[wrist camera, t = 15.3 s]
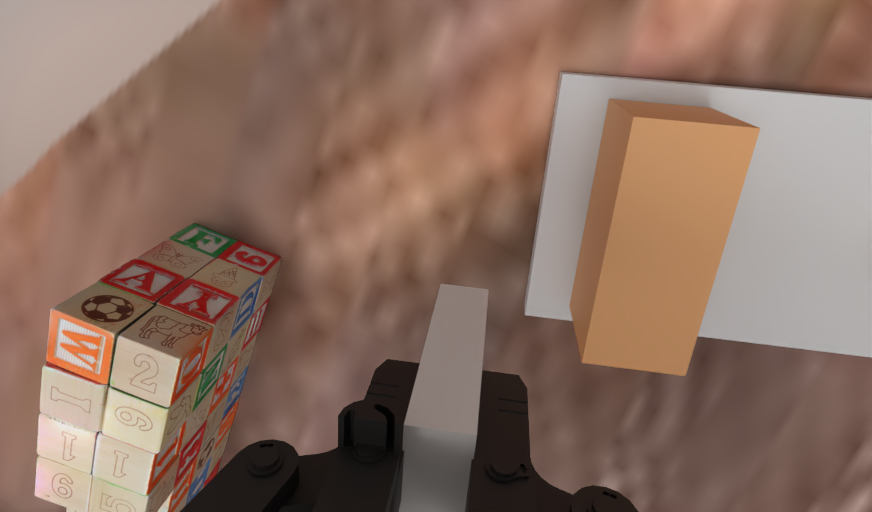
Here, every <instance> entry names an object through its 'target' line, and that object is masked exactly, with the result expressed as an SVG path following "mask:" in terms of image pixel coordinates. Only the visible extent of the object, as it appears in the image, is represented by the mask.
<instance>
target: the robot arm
mask: <svg viewBox="0 0 872 512" xmlns="http://www.w3.org/2000/svg"><path fill="white" fill-rule="evenodd" d="M488 291H489V289H482V288H473V287H465V286H457V285H448V284H441V285H440V289H439V292H438V296H437V300H436V304H435V308H434V311H433V315H432V319H431V323H430V327H429V330H428V334H427V338H426V342H425V346H424V350H423V353H422V357H421V361H420V363H413V362H405V361H398V360H390V359H387V360H386V361H385V362H384V363H382V364H381V365H380V366H379V367H378V368H377V369H376V370H375V372H374V375H373V377H372V380H371V384H370V385H369V388H368V391H367V394H366V396H365V398H364V400H361V401H357V402H353V403H351V404H350V405H348V406H346V407H345V408H344V409H343V410H342V411H341V413H340V414H339V415H338V447H337V448H335V449H333V450H331V451H328V452H325V453H320V454H314V455H304V456H298V453H297V452H296V450H295V449H294V447H293V446H291V445H290V444H288V443H286V442H284V441H278V440H264V441H259V442H256V443H253V444H251V445H248V446H247V447H246V448H244V449H243V450H241V451H240V452H239V453H238V454H237V455H236V456H235V457H234V458H233V459H232V460H231V461H230V462H229V463H228V464H227V465H226V466H225V467H224V468H223V469H222V470H221V471H220V472H219V473H218V474H217V475H216V476H215V477H214V478H213V479H212V480H211V481H210V482H209V483H208V484H207V485H206V486H205V487H204V488H203V489H202V490H201V491H200V492H199V493H198V494H197V495H196V496H195V497H194V498H193V499H192V500H191V501H190V502H189V503H188V504H187V505H186V506H185V507H184V508H183V509H182V510H181V511H180V512H638V511H637V509H636V508H635V507H634V505H633V504H632V503H631V502H630V500H628V499H627V498H626V497H624V496H623V495H622V494H620V493H619V492H617V491H614V490H612V489H609V488H607V487H601V486H589V487H584V488H581V489H580V490H579V491H577V492H576V493H575V494H574V495H572V494H570V493H567V492H565V491H563V490H560V489H558V488H556V487H554V486H552V485H550V484H549V483H547V482H546V481H545V480H544V479H542V478H541V477H540V476H539V475H538V473H537V472H536V471H535V469H534V467H533V465H532V463H531V458H530V442H529V420H528V405H527V404H528V398H527V387H526V386H525V384H524V383H523V381H522V380H521V378H520V377H519V375H513V374H506V373H498V372H490V371H483V370H482V365H483V353H484V340H485V328H486V315H487V303H488Z"/></svg>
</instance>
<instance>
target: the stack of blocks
mask: <svg viewBox="0 0 872 512" xmlns="http://www.w3.org/2000/svg"><path fill="white" fill-rule="evenodd" d="M280 263H281V258H280V257H278V256H276V255H273V254H271V253H268V252H266V251H263V250H261V249H258V248H256V247H253V246H251V245H248V244H246V243H243V242H241V241H236V240H234V239H231V238H229V237H226V236H224V235H222V234H219V233H217V232H214V231H212V230H209V229H207V228H204V227H202V226H200V225H197V224H194V223H193V224H192V225H190V226H188V227H186V228H185V229H183V230H181V231H179V232H177V233H176V234H174V235H173V236H171V237H169V238H168V239H167V241H165V242H163V243H161V244H160V245H158V246H156V247H154V248H153V249H151V250H149V251H147V252H146V253H144V254H143V255H141V256H140V257H139V258H138V259H133V260H131V261H129V262H127V263H126V264H124V265H122V266H121V267H120V268H118V269H116V270H114V271H112V272H111V273H110V274H107V275H106V276H104V277H102V278H101V279H99V281H98V282H96V283H95V284H93V285H91V286H89V287H88V288H86V289H84V290H82V291H81V292H79V293H77V294H75V295H74V296H72V297H70V298H69V299H67V300H65V301H64V302H62V303H60V304H58V305H57V306H55V307H54V308H52V309H51V313H50V324H49V336H48V343H47V356H46V360H47V363H45V364H44V366H43V368H42V379H41V394H40V414H39V420H38V438H37V453H38V455H39V456H38V458H37V465H36V480H35V496H37V497H39V498H41V499H44V500H47V501H50V502H53V503H56V504H59V505H61V506H64V507H67V511H66V512H180V511H181V510H182V509H183V508H184V507H185V506H186V505H187V504H188V503H189V502H190V501H191V500H192V499H193V498H194V497H195V496H196V495H197V494H198V493H199V492H200V491H201V490H202V489H203V488H204V487H205V486H206V485H207V484H208V483H209V482H210V481H211V480H212V479H213V478H214V477H215V476H216V474H217V471H218V467H219V463H220V460H221V456H222V454H223V453H224V450H225V447H226V443H227V440H228V436H229V433H230V429H231V425H232V423H233V420H234V416H235V413H236V410H237V407H238V403H239V400H240V396H239V395H240V393H241V389H242V386H243V382H244V379H245V376H246V372H247V369H248V363H249V361H250V358H251V355H252V351H253V348H254V344H255V341H256V337H257V334H258V331H259V330H260V327H261V324H262V321H263V318H264V314H265V311H266V308H267V304H268V301H269V298H270V295H271V292H272V289H273V286H274V283H275V279H276V276H277V273H278V269H279V266H280Z"/></svg>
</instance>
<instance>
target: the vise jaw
mask: <svg viewBox="0 0 872 512" xmlns="http://www.w3.org/2000/svg"><path fill="white" fill-rule="evenodd" d="M759 132H760V128H759V127H756V126H754V125H751V124H749V123H746V122H744V121H742V120H739V119H737V118H734V117H732V116H729V115H727V114H725V113H722V112H720V111H717V110H715V109H712V108H709V107H697V106H686V105H675V104H664V103H652V102H641V101H630V100H618V99H609V101H608V106H607V112H606V117H605V122H604V127H603V133H602V138H601V143H600V148H599V154H598V159H597V164H596V169H595V174H594V180H593V185H592V190H591V195H590V201H589V206H588V211H587V216H586V222H585V227H584V232H583V237H582V242H581V248H580V253H579V258H578V263H577V269H576V274H575V279H574V284H573V290H572V295H571V300H570V305H569V307H570V311H571V316H572V320H573V325H574V330H575V334H576V339H577V343H578V348H579V353H580V357H581V362H582V363H587V364H595V365H603V366H611V367H619V368H626V369H634V370H642V371H650V372H658V373H665V374H673V375H681V376H686V372H687V369H688V366H689V363H690V359H691V356H692V353H693V349H694V346H695V343H696V339H697V336H698V333H699V330H700V326H701V323H702V320H703V316H704V313H705V310H706V306H707V303H708V300H709V297H710V293H711V290H712V287H713V283H714V280H715V277H716V273H717V270H718V267H719V264H720V260H721V257H722V254H723V250H724V247H725V244H726V241H727V237H728V234H729V231H730V227H731V224H732V221H733V217H734V214H735V211H736V208H737V204H738V201H739V198H740V194H741V191H742V188H743V184H744V181H745V178H746V175H747V171H748V168H749V165H750V161H751V158H752V155H753V151H754V148H755V145H756V142H757V138H758V135H759Z"/></svg>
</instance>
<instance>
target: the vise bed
mask: <svg viewBox="0 0 872 512" xmlns="http://www.w3.org/2000/svg"><path fill="white" fill-rule="evenodd" d="M609 99H618V100H630V101H641V102H652V103H664V104H675V105H686V106H697V107H709V108H712V109H715V110H717V111H720V112H722V113H725V114H727V115H729V116H732V117H734V118H737V119H739V120H742V121H744V122H746V123H749V124H751V125H754V126H756V127H759V128H760V132H759V135H758V138H757V142H756V145H755V148H754V151H753V155H752V158H751V161H750V165H749V168H748V171H747V175H746V178H745V181H744V184H743V188H742V191H741V194H740V198H739V201H738V204H737V208H736V211H735V214H734V217H733V221H732V224H731V227H730V231H729V234H728V237H727V241H726V244H725V247H724V250H723V254H722V257H721V260H720V264H719V267H718V270H717V273H716V277H715V280H714V283H713V287H712V290H711V293H710V297H709V300H708V303H707V306H706V310H705V313H704V316H703V320H702V323H701V326H700V330H699V333H698V336H700V337H708V338H716V339H725V340H733V341H741V342H749V343H757V344H766V345H774V346H782V347H790V348H798V349H807V350H815V351H823V352H831V353H839V354H848V355H856V356H864V357H872V98H865V97H854V96H842V95H830V94H818V93H807V92H795V91H783V90H772V89H760V88H748V87H736V86H725V85H713V84H701V83H689V82H678V81H666V80H654V79H642V78H631V77H619V76H607V75H596V74H584V73H572V72H560V75H559V81H558V88H557V94H556V101H555V107H554V114H553V120H552V127H551V133H550V140H549V146H548V153H547V159H546V166H545V172H544V179H543V185H542V192H541V198H540V205H539V211H538V218H537V224H536V231H535V237H534V244H533V250H532V257H531V263H530V269H529V276H528V282H527V289H526V295H525V302H524V308H525V315H528V316H536V317H544V318H552V319H560V320H569V321H573V320H572V316H571V311H570V307H569V305H570V300H571V295H572V290H573V284H574V279H575V274H576V269H577V263H578V258H579V253H580V248H581V242H582V237H583V232H584V227H585V222H586V216H587V211H588V206H589V201H590V195H591V190H592V185H593V180H594V174H595V169H596V164H597V159H598V154H599V148H600V143H601V138H602V133H603V127H604V122H605V117H606V112H607V106H608V101H609Z"/></svg>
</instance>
